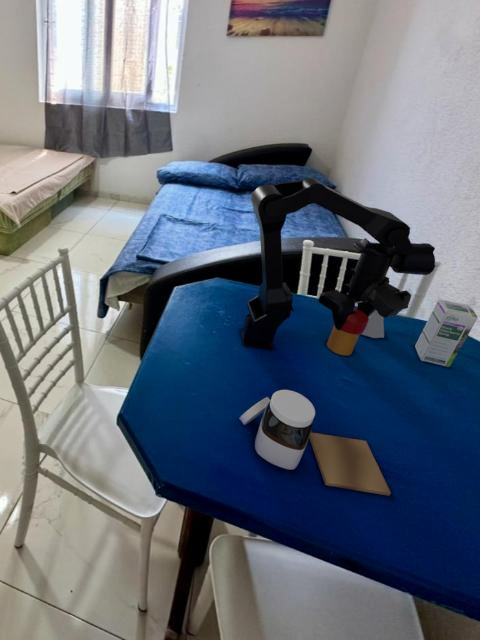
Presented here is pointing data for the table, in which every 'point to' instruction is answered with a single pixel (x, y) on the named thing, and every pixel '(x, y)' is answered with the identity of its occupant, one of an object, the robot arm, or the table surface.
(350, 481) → the coaster
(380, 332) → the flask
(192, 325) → the table surface
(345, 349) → the orange pill bottle
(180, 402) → the table surface
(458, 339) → the syrup box
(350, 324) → the lid
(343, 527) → the table surface
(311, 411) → the spread jar
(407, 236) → the robot arm
